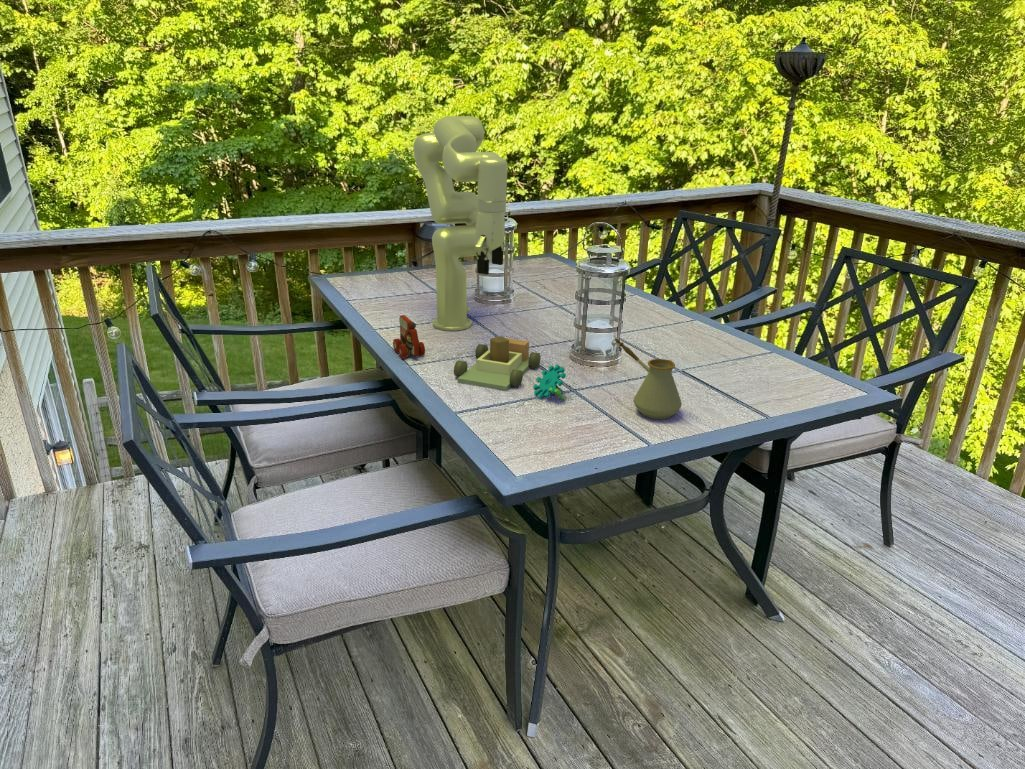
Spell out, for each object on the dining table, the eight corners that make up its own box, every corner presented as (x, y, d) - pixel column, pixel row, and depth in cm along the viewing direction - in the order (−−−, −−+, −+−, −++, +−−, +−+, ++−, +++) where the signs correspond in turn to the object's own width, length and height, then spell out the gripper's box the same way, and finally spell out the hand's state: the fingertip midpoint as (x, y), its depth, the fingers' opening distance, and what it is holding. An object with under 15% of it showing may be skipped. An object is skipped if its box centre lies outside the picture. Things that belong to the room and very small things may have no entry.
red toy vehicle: (404, 362, 206) (403, 327, 202) (391, 348, 216) (389, 315, 212) (428, 359, 209) (427, 324, 205) (413, 345, 219) (412, 312, 215)
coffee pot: (690, 414, 178) (697, 356, 172) (659, 427, 171) (665, 367, 165) (625, 386, 193) (629, 332, 187) (594, 397, 186) (597, 341, 180)
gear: (527, 382, 190) (555, 356, 188) (541, 394, 194) (569, 369, 192) (538, 404, 181) (568, 378, 179) (553, 417, 184) (583, 391, 182)
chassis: (484, 354, 213) (484, 334, 211) (542, 363, 207) (543, 342, 205) (450, 381, 194) (450, 359, 192) (514, 392, 188) (514, 369, 186)
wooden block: (501, 362, 204) (502, 335, 201) (509, 367, 201) (509, 339, 198) (489, 365, 202) (489, 337, 199) (496, 369, 199) (496, 342, 196)
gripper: (491, 198, 202) (490, 259, 209) (464, 210, 187) (464, 275, 195) (517, 201, 199) (514, 262, 207) (491, 214, 185) (490, 279, 192)
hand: (490, 268), depth 201 cm, fingers open, 9 cm apart
